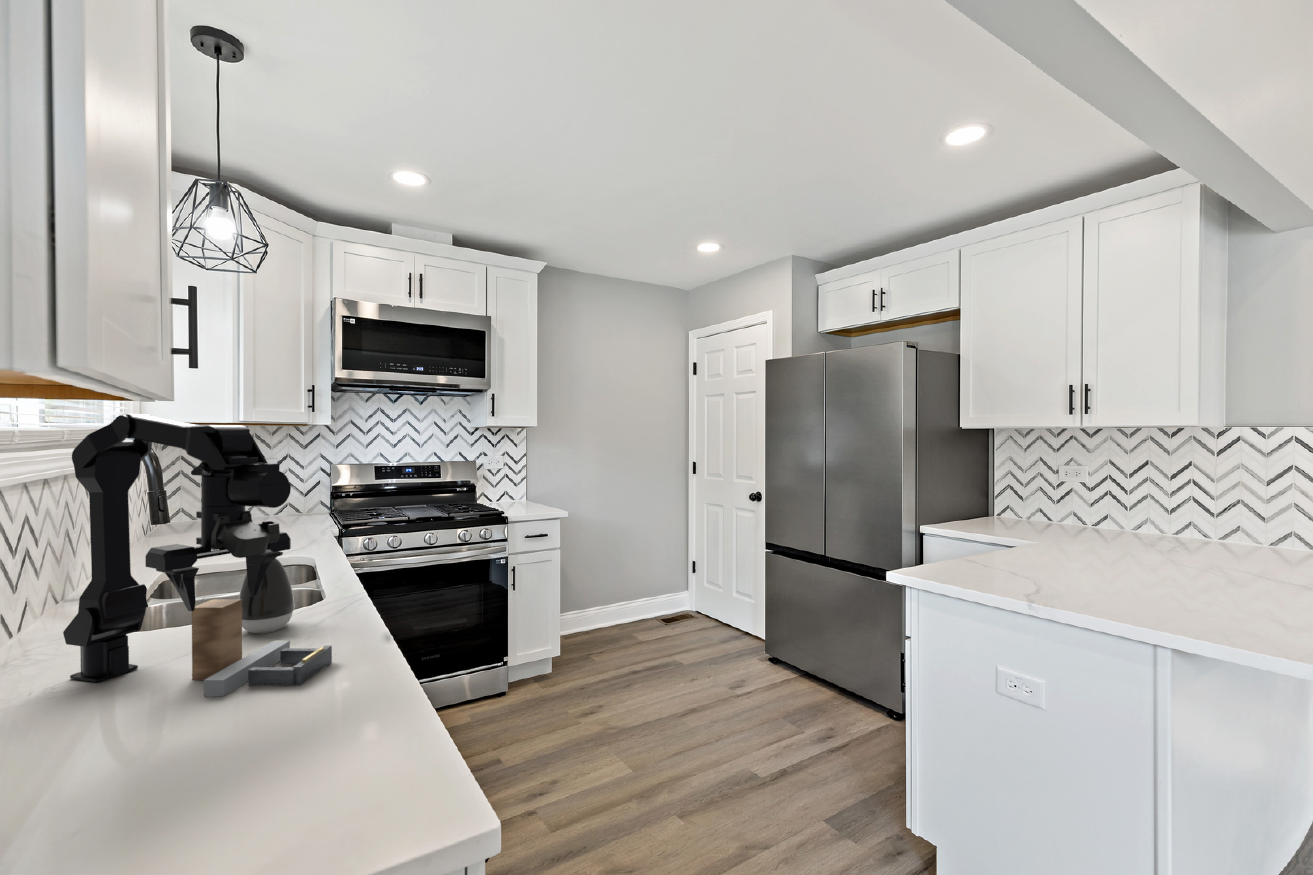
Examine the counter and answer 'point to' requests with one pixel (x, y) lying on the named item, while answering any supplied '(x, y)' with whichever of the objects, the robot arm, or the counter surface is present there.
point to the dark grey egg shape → (268, 601)
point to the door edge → (243, 669)
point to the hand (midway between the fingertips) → (223, 603)
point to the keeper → (304, 669)
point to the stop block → (216, 636)
